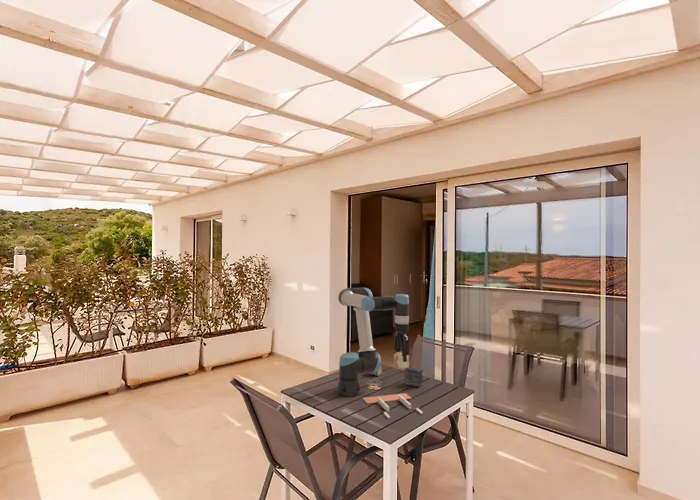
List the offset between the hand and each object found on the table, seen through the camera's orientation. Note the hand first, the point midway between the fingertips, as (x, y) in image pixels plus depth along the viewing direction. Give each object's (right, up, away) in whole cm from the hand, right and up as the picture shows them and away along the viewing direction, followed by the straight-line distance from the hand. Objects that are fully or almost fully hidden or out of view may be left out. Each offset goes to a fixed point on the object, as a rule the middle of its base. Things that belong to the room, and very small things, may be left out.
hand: (401, 365), depth 197 cm
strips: (+1, -25, -3) cm, 25 cm away
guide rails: (-3, -25, +8) cm, 26 cm away
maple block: (0, 0, 0) cm, 0 cm away
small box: (+14, -26, +42) cm, 51 cm away
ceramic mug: (-10, -26, +62) cm, 68 cm away
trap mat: (-6, -25, +18) cm, 31 cm away
